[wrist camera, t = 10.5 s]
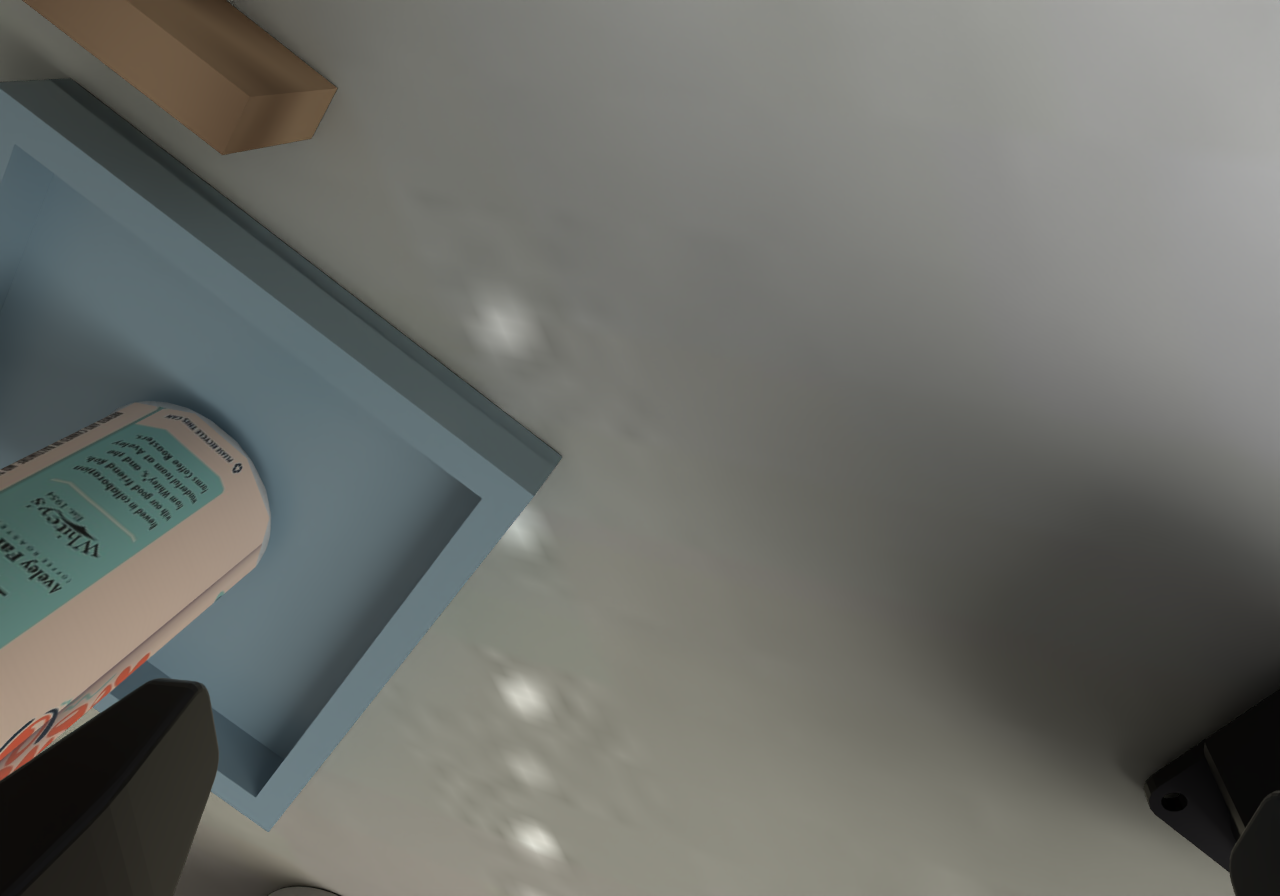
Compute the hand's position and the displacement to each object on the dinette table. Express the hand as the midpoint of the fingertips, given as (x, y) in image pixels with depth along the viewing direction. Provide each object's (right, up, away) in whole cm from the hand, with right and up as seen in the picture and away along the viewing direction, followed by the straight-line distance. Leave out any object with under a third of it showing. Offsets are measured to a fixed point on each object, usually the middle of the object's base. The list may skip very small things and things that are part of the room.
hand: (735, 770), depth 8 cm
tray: (-11, +2, +15) cm, 19 cm away
